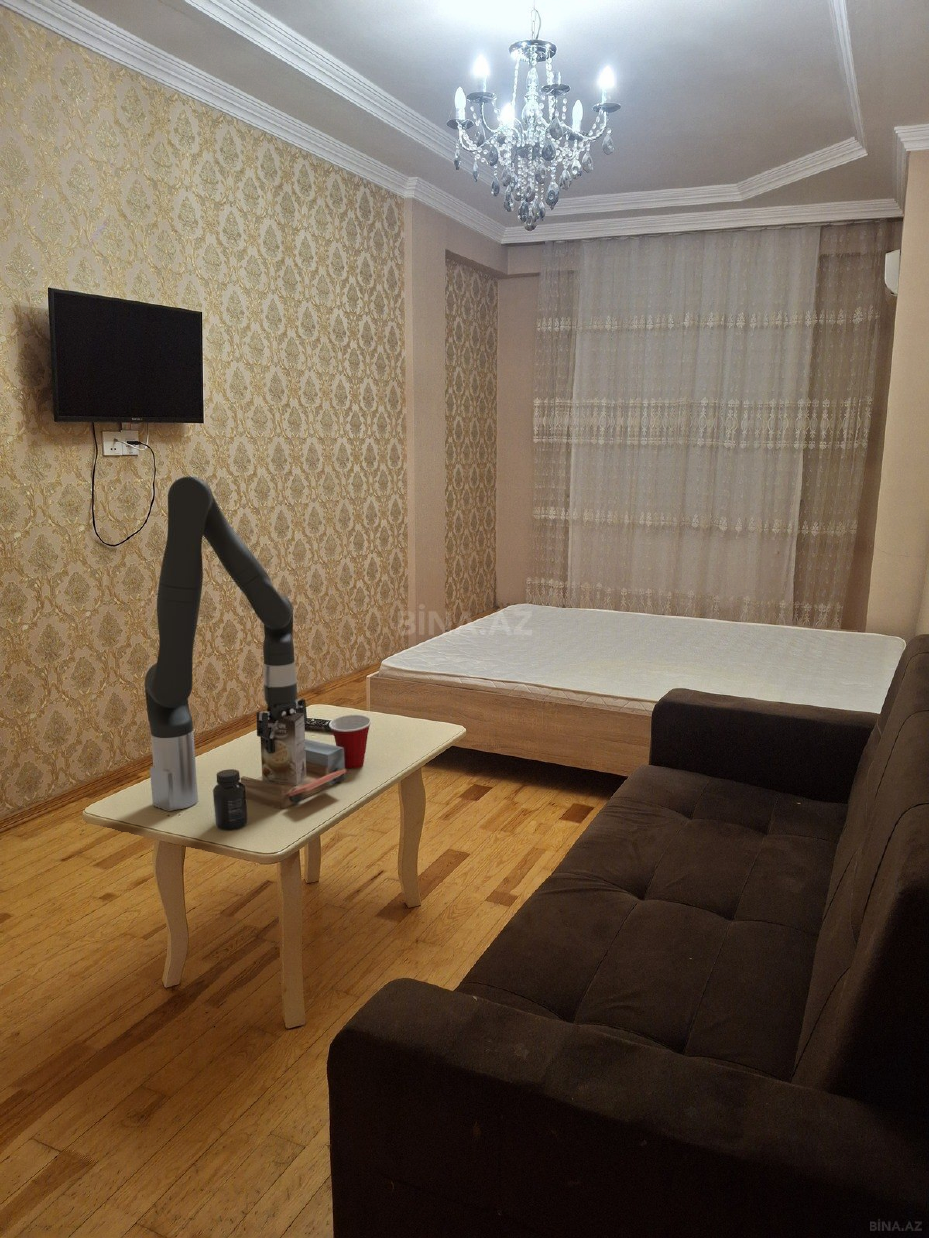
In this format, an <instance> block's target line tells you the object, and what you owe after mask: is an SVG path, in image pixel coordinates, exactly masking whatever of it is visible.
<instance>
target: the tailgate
mask: <svg viewBox="0 0 929 1238" xmlns="http://www.w3.org/2000/svg"><path fill="white" fill-rule="evenodd" d="M343 773H345V774H346V773H347V768H345V769H343V770H340V771H337V772H334V773H331V774H328V775H326V776H323V777H321V778H319V779H317V780H315V781H313V782H311V783H309V784H306V785H304V786H302V787H300V788H298V789H296V790H294V791H292V792H289V796H292V795H295V794H298V793H302V792H305V791H309V790H311V789H313V788H315V787H317V786H319V785H321V784H323V783H326V782H328V781H330V780H332V779H334V778H336V777H338V776H340V775H341V774H343Z"/></svg>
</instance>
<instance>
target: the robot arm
mask: <svg viewBox="0 0 929 1238" xmlns="http://www.w3.org/2000/svg"><path fill="white" fill-rule="evenodd" d="M166 535H167V537H166V543H165V547H164V548H165V549H164V553H163V556H162V557H163V558H162V561H161V567H160V573H159V580H158V589H157V597H156V614H157V615H156V617H157V627H158V628H157V629H158V638H159V640H158V641H159V643H158V644H159V646H158V654H157V659H156V663H155V664H152V665H151V667H149V669H148V671H147V672H146V674H145V677H144V691H145V702H146V713H147V720H148V723H149V728H150V738H151V739H150V740H151V750H152V751H151V752H152V753H151V754H152V762H153V763H152V766H150V767H149V773H150V774H149V776H150V787H151V788H150V789H151V799H152V807H154V806H156V807H155V808H157V807H158V809H160V808H162V809H161V810H165V811H167V812H173V811H175V810H176V811H177V810H181V809H186V808H190V807H192V806H194V805H195V804H196V803H198V802H199V794H198V781H197V780H198V777H197V768H196V767H197V766H196V751H195V737H194V726H193V723H194V722H193V718H192V717H193V716H192V714H191V711H190V710H191V709H190V705H189V697H190V696H191V694H192V691H193V660H194V659H193V657H194V656H193V654H194V653H193V652H194V645H195V644H194V642H195V638H196V632H197V627H198V620H199V612H200V607H201V601H202V600H201V599H202V591H203V580H204V576H203V575H204V572H203V570H204V568H203V552H202V548H203V547H202V545H203V537H204V538H205V540H206V541H207V542H208V545H210V547H211V548H212V550H213V552H214V553H215V555H216V556H217V559H218V560H219V562H220V563H221V565H222V566H223V568H224V569H225V571H226V572H227V574H228V576H230V578H231V579H232V580H233V582H234V583H235V584H236V586H237V587H238V588H239V590H240V591H241V592H242V593H243V594H244V596H245V597H246V599H247V601H248V603H249V604H250V607H251V608H252V609H253V612H255V614H256V616H257V617H258V619H259V620H260V622H261V623H262V624H263V632H264V638H263V639H264V640H263V643H262V644H263V646H262V652H263V654H262V655H263V671H262V673H263V674H262V675H263V693H264V694H263V696H264V701H265V703H266V705H267V708H266V710H265V711H259V710H258V711H257V712H256V736H257V737H259V738H260V737H263V738H264V739H265V750H266V751H267V753H271V754H273V753H275V738H273V737H274V735H275V733H276V731H277V730H278V729H279V727H280V719H283V718H284V717H285V716H287V715H294V714H296V713H304V724H306V723H307V722H308V715H307V702H306V699H305V698H299V697H298V684H297V683H298V681H297V680H298V679H297V678H298V677H297V668H296V661H295V645H294V637H293V635H294V608H293V604H292V603H291V600H290V599H289V598H288V597H287V596H284V595H282V594H280V593H279V592H278V590H277V589H276V588H275V587H274V584H272V581H271V578H270V575H269V574H268V572H266V569H264V567H263V566H262V564H261V562H260V561H259V560H258V559H257V558H256V556H255V555H254V554H253V552H252V551H251V550H250V549H249V548H248V546H247V545H246V544H245V543H244V542H243V540H242V539H241V538H240V537H239V535H238V534H237V533H236V532H235V530H234V528H232V526H231V524H230V523H229V522H228V520H227V518H226V517H225V515H224V513H223V512H222V511H221V509H220V507H219V505H218V502H217V500H216V498H215V496H214V494H213V490H212V489H211V487H210V485H209V484H208V483H207V482H205V480H203V479H201V478H199V477H195V476H183V477H180V478H178V479H176V480H175V481H174V482H173V483H172V484H171V485H170V487H169V489H168V492H167V534H166ZM269 718H270V719H273V720H274V721H276V720H277V721H276V723H275V724H274V725H272V724H268V720H269ZM262 728H263V732H262ZM269 728H272V729H271V732H270V733H269Z"/></svg>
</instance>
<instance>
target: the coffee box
mask: <svg viewBox="0 0 929 1238" xmlns="http://www.w3.org/2000/svg"><path fill="white" fill-rule="evenodd" d="M295 713H296V712H295ZM276 721H277V720H276ZM276 721H274V720H273V719H270V718H269V720H268V724H272V725H274V724H275V723H276ZM305 727H306V726H305V723H304V713H296V714H294V715H287V716H285V717H284V718H283V719H280V727H279V729H278V730H277V731H276V733H275V735H274V737H273V738H275V753H273V754H271V753H267V751H266V750H265V739H264V738H263V737H259V738H260V756H261V758H260V759H261V777H262V781H264V782H268V783H273V784H284V785H298V784H299V783H300V782H301V781H302V780H303V779H304V778H305V777H306V754H305V739H306V735H305ZM271 729H272V728H269V733H270V732H271ZM262 732H263V728H262Z"/></svg>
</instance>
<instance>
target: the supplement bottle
mask: <svg viewBox="0 0 929 1238" xmlns="http://www.w3.org/2000/svg"><path fill="white" fill-rule="evenodd" d="M212 797H213V807H214V821H215V826H216V828H217V829H218V830H221V831H226V832H227V831H236V830H239V829H242V828H244V827H245V826H247V824H248V806H247V799H246V791H245V786H244V784H243V783H242V782H241V776H240V771H239V770H238V769H233V768H232V769H229V768H228V769H223V770H220V771H218V772H216V785H215V786H214V787H213V789H212Z"/></svg>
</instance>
